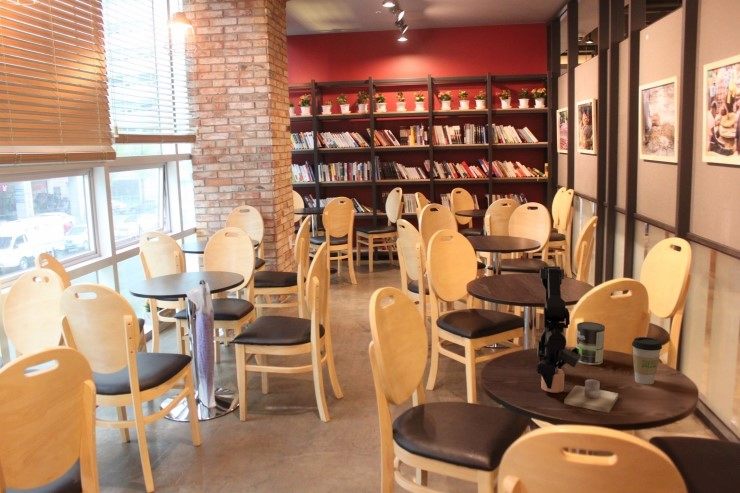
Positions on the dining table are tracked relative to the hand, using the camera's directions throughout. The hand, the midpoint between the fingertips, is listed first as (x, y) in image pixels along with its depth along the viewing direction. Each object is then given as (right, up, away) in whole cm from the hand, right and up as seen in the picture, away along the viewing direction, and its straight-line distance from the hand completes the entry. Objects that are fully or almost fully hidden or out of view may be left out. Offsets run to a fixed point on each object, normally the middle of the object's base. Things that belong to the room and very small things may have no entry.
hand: (552, 384), depth 218 cm
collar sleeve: (0, -1, 0) cm, 1 cm away
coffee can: (+23, +2, +32) cm, 39 cm away
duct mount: (+11, -4, -6) cm, 13 cm away
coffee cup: (+36, -1, +10) cm, 37 cm away
